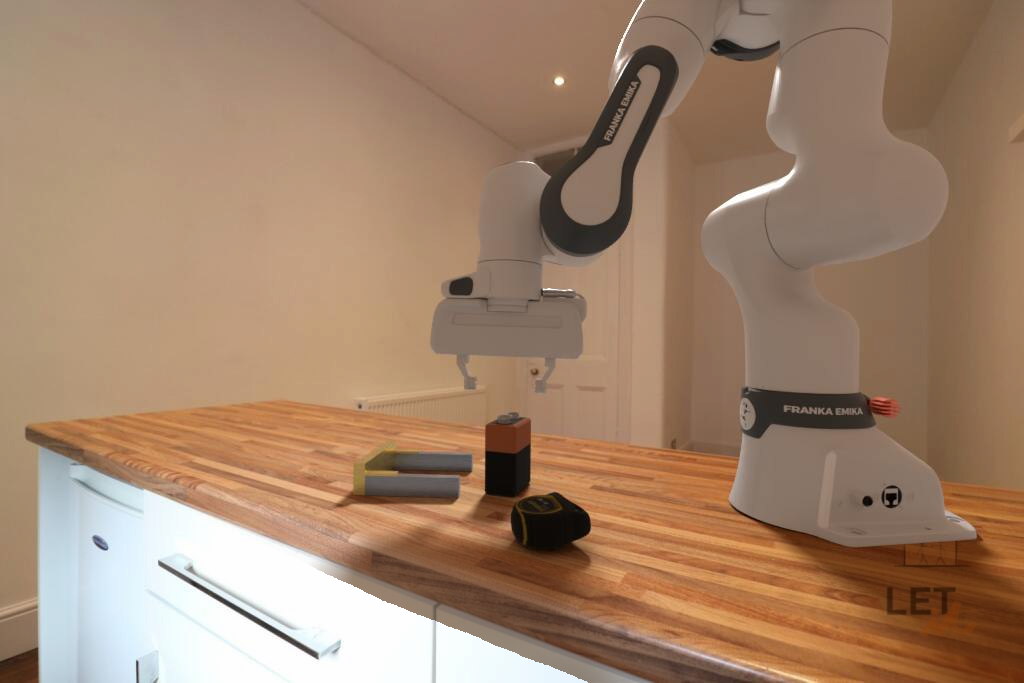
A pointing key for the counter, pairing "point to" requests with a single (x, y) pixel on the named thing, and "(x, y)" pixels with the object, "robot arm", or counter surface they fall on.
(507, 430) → the battery
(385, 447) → the yellow grey u-shaped bracket
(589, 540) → the counter surface
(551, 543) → the tape measure
